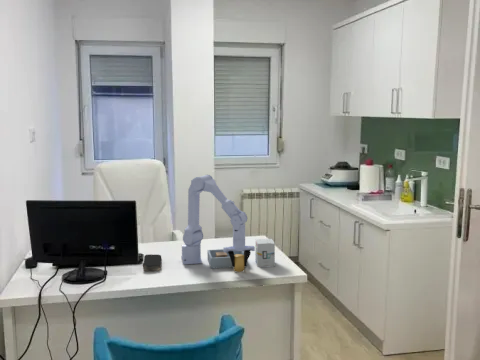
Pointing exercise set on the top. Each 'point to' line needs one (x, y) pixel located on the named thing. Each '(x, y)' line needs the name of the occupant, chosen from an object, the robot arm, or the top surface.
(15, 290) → the top surface
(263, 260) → the ink box
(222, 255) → the walnut cube
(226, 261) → the tote
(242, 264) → the tan rounded piece
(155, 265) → the black sponge
